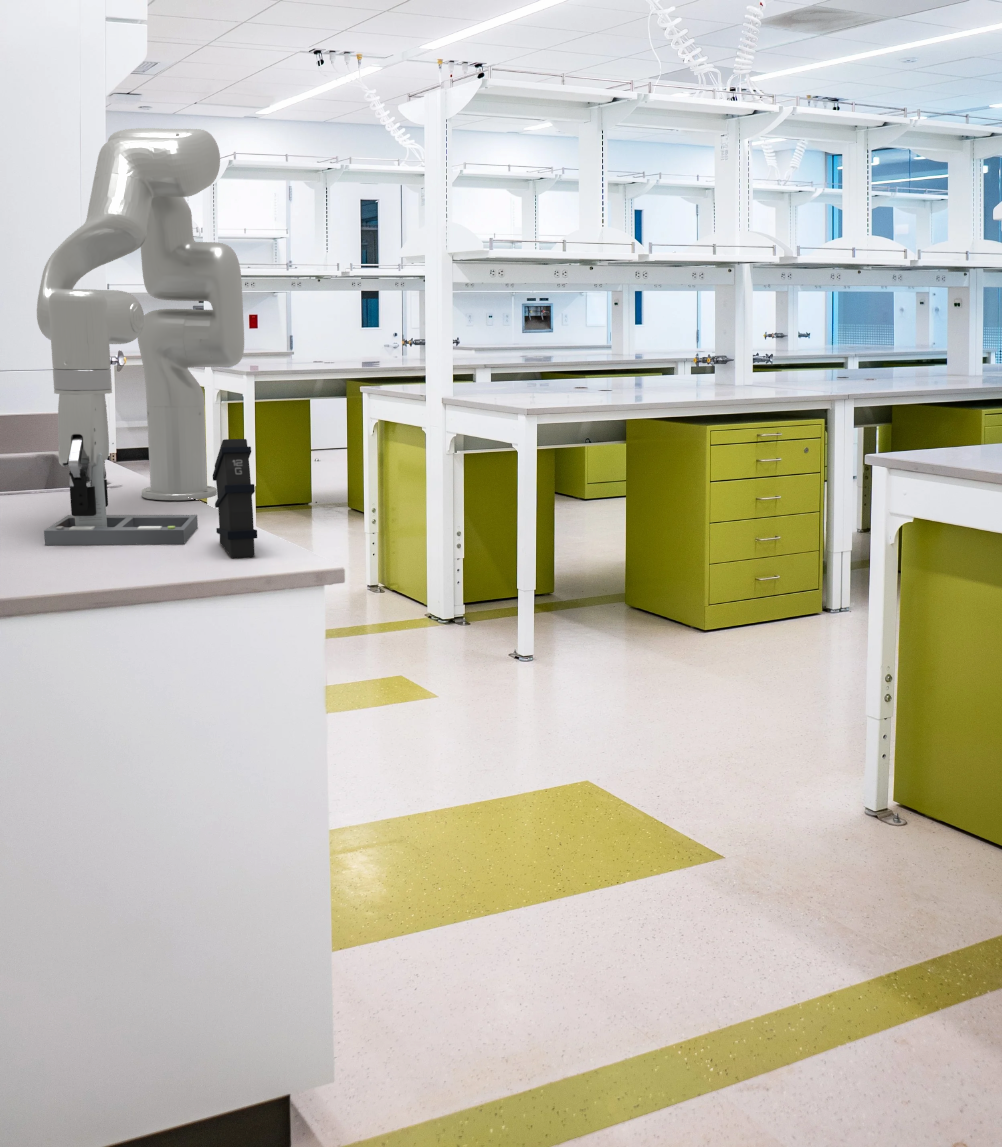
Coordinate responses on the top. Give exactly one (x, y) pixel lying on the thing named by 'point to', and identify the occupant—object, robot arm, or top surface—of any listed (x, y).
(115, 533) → the socket panel
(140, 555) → the top surface
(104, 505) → the skincare box
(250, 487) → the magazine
